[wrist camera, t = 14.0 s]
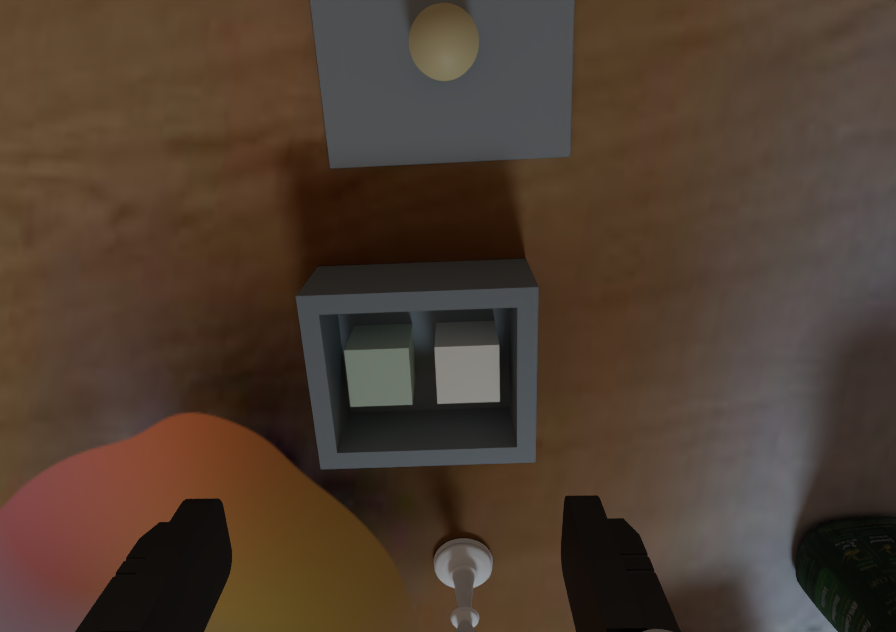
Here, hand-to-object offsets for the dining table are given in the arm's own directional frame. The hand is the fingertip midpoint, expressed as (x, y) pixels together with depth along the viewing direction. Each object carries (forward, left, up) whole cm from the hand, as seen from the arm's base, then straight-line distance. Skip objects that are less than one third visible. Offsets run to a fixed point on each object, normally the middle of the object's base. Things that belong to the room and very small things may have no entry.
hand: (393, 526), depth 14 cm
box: (+1, +7, -27) cm, 28 cm away
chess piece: (-1, +27, -27) cm, 38 cm away
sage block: (+3, +7, -26) cm, 27 cm away
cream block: (-2, +7, -26) cm, 27 cm away
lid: (-2, -12, -27) cm, 30 cm away
